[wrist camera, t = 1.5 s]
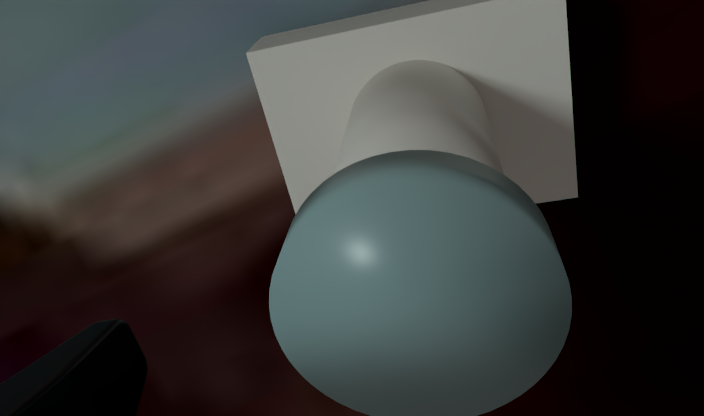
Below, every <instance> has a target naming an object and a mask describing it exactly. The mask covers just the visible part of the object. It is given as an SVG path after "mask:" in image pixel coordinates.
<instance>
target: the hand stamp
mask: <svg viewBox="0 0 704 416" xmlns="http://www.w3.org/2000/svg"><path fill="white" fill-rule="evenodd" d="M246 55H247V58H248V61H249V64H250V68H251V71H252V74H253V77H254V81H255V84H256V87H257V90H258V94H259V97H260V100H261V103H262V107H263V110H264V113H265V116H266V120H267V123H268V126H269V129H270V133H271V136H272V139H273V142H274V145H275V149H276V152H277V155H278V158H279V162H280V165H281V168H282V171H283V175H284V178H285V181H286V184H287V188H288V191H289V194H290V197H291V201H292V204H293V207H294V210H295V214H296V215H295V217H294V219H293V221H292V223H291V226H290V228H289V231H288V234H287V236H286V239H285V242H284V244H283V247H282V250H281V253H280V255H279V258H278V261H277V263H276V266H275V269H274V272H273V275H272V280H271V285H270V292H269V308H270V317H271V322H272V325H273V329H274V332H275V335H276V337H277V340H278V342H279V344H280V346H281V348H282V350H283V352H284V353H285V355H286V356H287V358H288V360H289V361H290V362H291V364H292V365H293V366H294V367H295V368H296V370H297V371H298V372H299V373H300V374H301V375H302V376H303V377H304V378H305V379H306V380H307V381H308V382H309V383H310V384H311V385H313V386H314V387H315V388H317V389H318V390H319V391H321V392H322V393H323V394H325V395H327V396H328V397H330V398H332V399H333V400H335V401H337V402H338V403H340V404H343V405H345V406H347V407H349V408H351V409H353V410H356V411H359V412H362V413H365V414H368V415H370V416H477V415H480V414H483V413H486V412H489V411H492V410H494V409H496V408H498V407H500V406H502V405H505V404H507V403H508V402H510V401H512V400H513V399H515V398H517V397H518V396H520V395H522V394H523V393H524V392H525V391H527V390H528V389H529V388H531V387H532V386H533V385H534V384H535V383H536V382H537V381H538V380H539V379H540V378H541V377H542V376H543V375H544V374H545V373H546V372H547V371H548V370H549V368H550V367H551V366H552V364H553V363H554V362H555V360H556V359H557V357H558V355H559V353H560V351H561V349H562V348H563V346H564V343H565V340H566V337H567V335H568V332H569V327H570V322H571V316H572V297H571V291H570V284H569V281H568V278H567V275H566V272H565V269H564V266H563V263H562V261H561V258H560V255H559V253H558V250H557V247H556V245H555V242H554V239H553V237H552V234H551V231H550V228H549V226H548V224H547V222H546V220H545V218H544V216H543V214H542V213H541V211H540V209H539V208H538V207H537V205H536V204H535V203H542V202H549V201H555V200H562V199H569V198H576V197H578V190H577V174H576V157H575V141H574V125H573V108H572V92H571V76H570V59H569V43H568V27H567V10H566V0H428V1H424V2H419V3H415V4H410V5H405V6H401V7H396V8H392V9H387V10H382V11H378V12H373V13H369V14H364V15H359V16H355V17H350V18H346V19H341V20H337V21H332V22H327V23H323V24H318V25H314V26H309V27H304V28H300V29H295V30H291V31H286V32H281V33H277V34H272V35H268V36H263V37H261V38H260V39H259V40H258V41H257V42H256V43H255V44H254V45H253V46H252V47H251V48H250V49H249V50H248V51H247V52H246Z"/></svg>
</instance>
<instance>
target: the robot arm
mask: <svg viewBox="0 0 704 416" xmlns="http://www.w3.org/2000/svg"><path fill="white" fill-rule="evenodd" d="M146 375H147V363H146V359H145V356H144V354H143V352H142V350H141V348H140V346H139V344H138V342H137V340H136V338H135V336H134V334H133V332H132V330H131V328H130V326H129V325H128V323H126V322H125V321H124V320H122V319H113V320H105V321H98V322H95V323H94V324H92V325H90V326H89V327H87V328H86V329H84V330H83V331H81V332H80V333H78V334H77V335H75V336H73V337H72V338H70V339H69V340H67V341H66V342H64V343H63V344H61V345H60V346H58V347H57V348H55V349H54V350H52V351H51V352H49V353H47V354H46V355H44V356H43V357H41V358H40V359H38V360H37V361H35V362H34V363H32V364H31V365H29V366H28V367H26V368H25V369H23V370H21V371H20V372H18V373H17V374H15V375H14V376H12V377H11V378H9V379H8V380H6V381H5V382H3V383H2V384H0V416H136V413H137V410H138V406H139V402H140V398H141V395H142V391H143V387H144V383H145V380H146Z"/></svg>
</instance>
